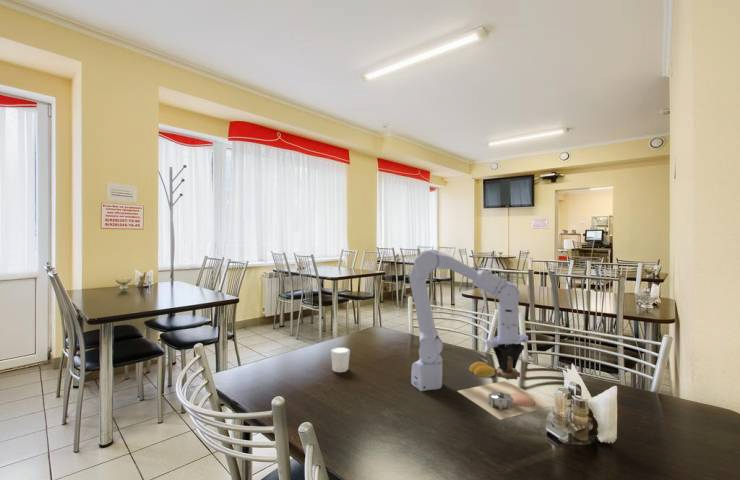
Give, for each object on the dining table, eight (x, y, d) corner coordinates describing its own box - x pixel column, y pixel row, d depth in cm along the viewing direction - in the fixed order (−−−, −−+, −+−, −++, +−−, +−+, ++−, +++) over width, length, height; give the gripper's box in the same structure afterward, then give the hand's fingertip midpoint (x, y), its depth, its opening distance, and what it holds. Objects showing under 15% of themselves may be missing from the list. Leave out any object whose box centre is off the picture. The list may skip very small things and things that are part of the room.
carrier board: (500, 423, 92) (500, 419, 92) (456, 394, 109) (456, 390, 109) (553, 408, 100) (553, 405, 100) (505, 383, 117) (505, 380, 117)
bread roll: (479, 381, 119) (480, 369, 119) (465, 371, 127) (466, 360, 127) (501, 379, 121) (501, 367, 121) (485, 369, 130) (486, 358, 129)
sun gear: (500, 412, 96) (500, 401, 96) (483, 401, 102) (483, 391, 102) (518, 408, 98) (518, 397, 98) (500, 397, 104) (501, 387, 104)
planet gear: (507, 381, 100) (507, 363, 100) (489, 372, 107) (489, 355, 107) (525, 377, 103) (525, 360, 103) (506, 369, 110) (507, 352, 110)
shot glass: (348, 373, 123) (349, 353, 123) (329, 372, 124) (329, 353, 123) (350, 365, 130) (350, 347, 130) (331, 365, 130) (332, 346, 130)
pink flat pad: (520, 408, 98) (520, 407, 98) (500, 396, 105) (500, 395, 105) (540, 403, 101) (540, 402, 101) (519, 392, 108) (519, 391, 108)
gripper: (499, 329, 98) (498, 377, 98) (536, 324, 104) (536, 369, 104) (481, 323, 104) (481, 368, 105) (518, 318, 110) (517, 361, 111)
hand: (507, 368), depth 105 cm, fingers closed on planet gear, 3 cm apart
